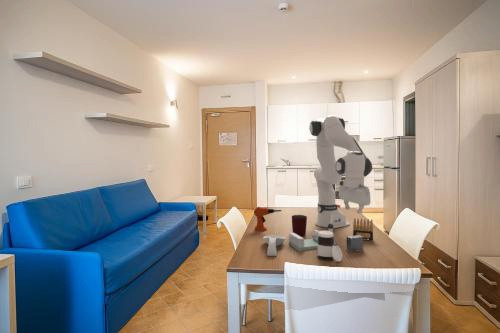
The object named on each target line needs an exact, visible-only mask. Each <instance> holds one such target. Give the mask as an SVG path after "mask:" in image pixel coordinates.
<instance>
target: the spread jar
mask: <svg viewBox="0 0 500 333" xmlns="http://www.w3.org/2000/svg"><path fill="white" fill-rule="evenodd" d="M333 236H334V231H333V232H330V231H328V230H319V236H318V241H317V249H316V250H317V251H316V252H317V254H316V255H317V258H319V259H321V260H326V259H329V260H332V259H333V260H334V261H335V262H341V261H343V252H342V249H341V247H340V246H339V245H336V246H334V242H335V238H333Z"/></svg>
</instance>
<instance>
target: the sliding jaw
mask: <svg viewBox="0 0 500 333" xmlns="http://www.w3.org/2000/svg"><path fill="white" fill-rule="evenodd" d="M327 229H328V230H327V231H330V232H333V233H334V228H333V224H328V227H327ZM319 231H320V230H318V229H313V230H312V238H311V239H315V240H317V241H318V236H319ZM333 238H334V235H333ZM334 239H335V238H334Z"/></svg>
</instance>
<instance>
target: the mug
mask: <svg viewBox="0 0 500 333" xmlns="http://www.w3.org/2000/svg"><path fill="white" fill-rule="evenodd" d="M307 222H308V216H307V215H303V214H294V215H292V216H291V229H292V233H295V234H297V235H299V236H300V237H302V238H303V237H306V233H307Z"/></svg>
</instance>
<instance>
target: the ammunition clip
mask: <svg viewBox="0 0 500 333" xmlns="http://www.w3.org/2000/svg"><path fill="white" fill-rule="evenodd" d="M356 235H360V236H362V237H363V239H369V240H368V241H370V240H373V241H374V223H373V219H370V220H369V218H367V219H366V218H364V219H363V218H360V219H359V218H358V217H357V220H356V218H355V217H354V219H353V226H352V236H356Z"/></svg>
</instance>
